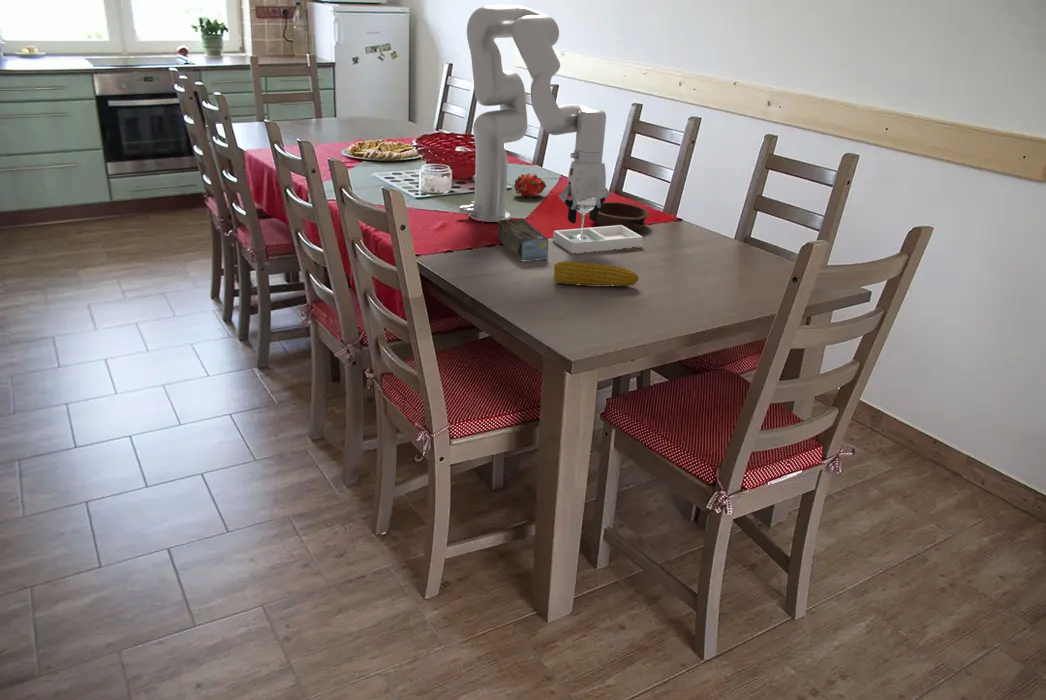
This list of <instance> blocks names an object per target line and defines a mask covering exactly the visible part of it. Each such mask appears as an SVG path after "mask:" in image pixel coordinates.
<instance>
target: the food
mask: <svg viewBox="0 0 1046 700" xmlns="http://www.w3.org/2000/svg"><path fill="white" fill-rule="evenodd" d="M553 270H554V273H553V275H554V276H553V281H554V282H556V283H557V282H559V283H558V284H563V283H564V284H563V285H568V284H580V285H609V286H611V285H614V286H627V287H629V286H628V285H631V286H634V285H636V284H637V282H639V275H638V274H637V273H636V272H634V271H633V270H631V269H629V268H625V267H621V266H616V265H606V264H599V263H589V262H588V263H587V262H581V261H580V262H578V261H577V262H575V261H570V260H569V261H567V260H566V261H559V262H558V263H555V264H554V266H553Z"/></svg>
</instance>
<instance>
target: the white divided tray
mask: <svg viewBox="0 0 1046 700" xmlns="http://www.w3.org/2000/svg"><path fill="white" fill-rule="evenodd" d="M552 234H553V235H552V236H553V237H552V242H554V243H556V244H557V245H558V246H560V247H561V248H562V249H564V250H566V251H567V252H569V253H570V254H571V253H572V255H574V254H573V253H576V254H583V253H584V252H586V253H594V252H593V251H596V252H605V251H615V250H614V249H616V250H622V249H623V248H626V249H633V248H632V247H636V248H642V245H643V236H642V235H640V234H638V233H637V232H635V231H633V230H630V229H628V228H626V227H624V226H623V225H616V226H604V227H602V226H596V227H595V226H593V227H583V231H582V234H585V235H588V236H590V238H589V239H576V238H574V237H573V235H574V234H581V228H570V229H560V230H558V229H557V230H553V233H552ZM623 250H624V249H623Z"/></svg>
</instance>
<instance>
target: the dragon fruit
mask: <svg viewBox="0 0 1046 700" xmlns="http://www.w3.org/2000/svg"><path fill="white" fill-rule="evenodd" d="M513 186H514V190H515V193H516V194H517V195H518V194H521V197H522V196H523V197H522V198H525V197H527V198H529V199H530V198H531V199H532V197H535V198H539V197H540V196H541V193H543V191H544V190H545V189H546V187H547V184H546V182H545V181H544V180H543V179H542V178H541V177H538V175H537V174H536V173H535V174H532V175H531V173H527V174H524V173H521V174H520V176H518V177H517V178H516V179H515V180H514V184H513Z"/></svg>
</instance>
